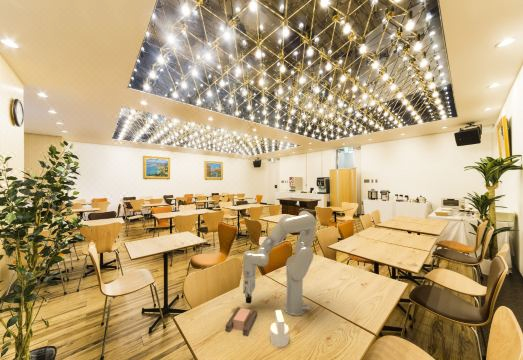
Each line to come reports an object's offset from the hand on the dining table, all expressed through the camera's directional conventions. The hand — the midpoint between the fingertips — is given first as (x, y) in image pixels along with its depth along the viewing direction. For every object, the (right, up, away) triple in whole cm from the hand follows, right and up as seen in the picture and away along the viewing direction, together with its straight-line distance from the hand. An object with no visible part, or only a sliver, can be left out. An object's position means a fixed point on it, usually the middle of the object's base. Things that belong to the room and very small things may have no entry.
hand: (248, 302), depth 127 cm
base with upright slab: (+17, -5, -23) cm, 29 cm away
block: (-3, -5, -11) cm, 13 cm away
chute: (-3, -5, -11) cm, 13 cm away
